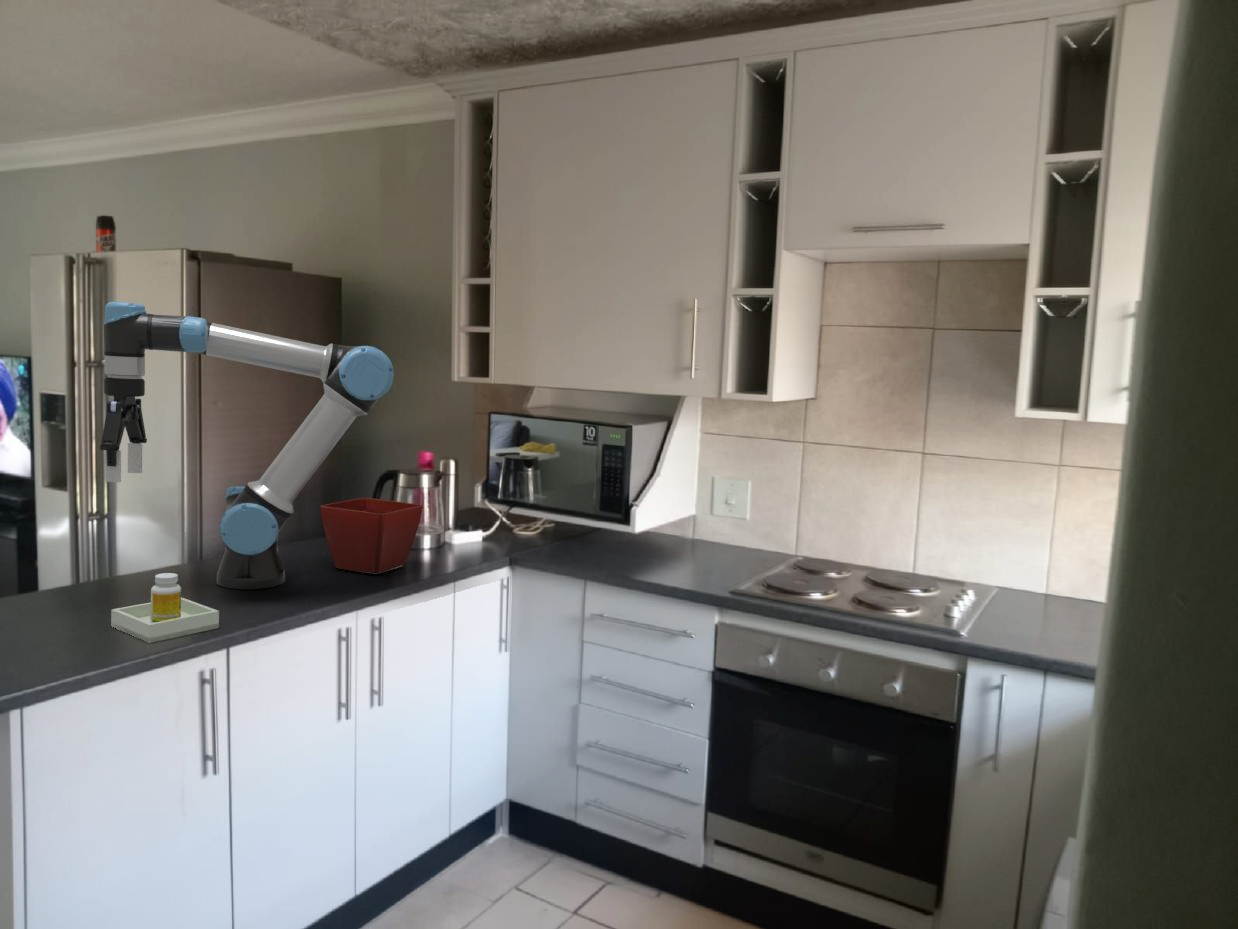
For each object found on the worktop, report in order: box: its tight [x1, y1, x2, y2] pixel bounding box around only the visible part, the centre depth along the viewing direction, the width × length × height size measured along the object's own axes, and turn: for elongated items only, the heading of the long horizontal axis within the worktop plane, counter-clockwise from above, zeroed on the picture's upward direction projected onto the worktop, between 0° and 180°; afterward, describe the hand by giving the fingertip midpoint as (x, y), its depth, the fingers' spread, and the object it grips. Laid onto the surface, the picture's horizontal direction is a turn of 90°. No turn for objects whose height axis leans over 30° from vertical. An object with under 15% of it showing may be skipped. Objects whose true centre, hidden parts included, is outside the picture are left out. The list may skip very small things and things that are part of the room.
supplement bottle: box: [150, 572, 182, 623], centre depth 180 cm, size 5×5×10 cm
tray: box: [110, 596, 220, 644], centre depth 181 cm, size 14×14×4 cm
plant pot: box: [319, 497, 424, 573], centre depth 238 cm, size 19×19×17 cm
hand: (124, 477), depth 195 cm, fingers open, 13 cm apart
